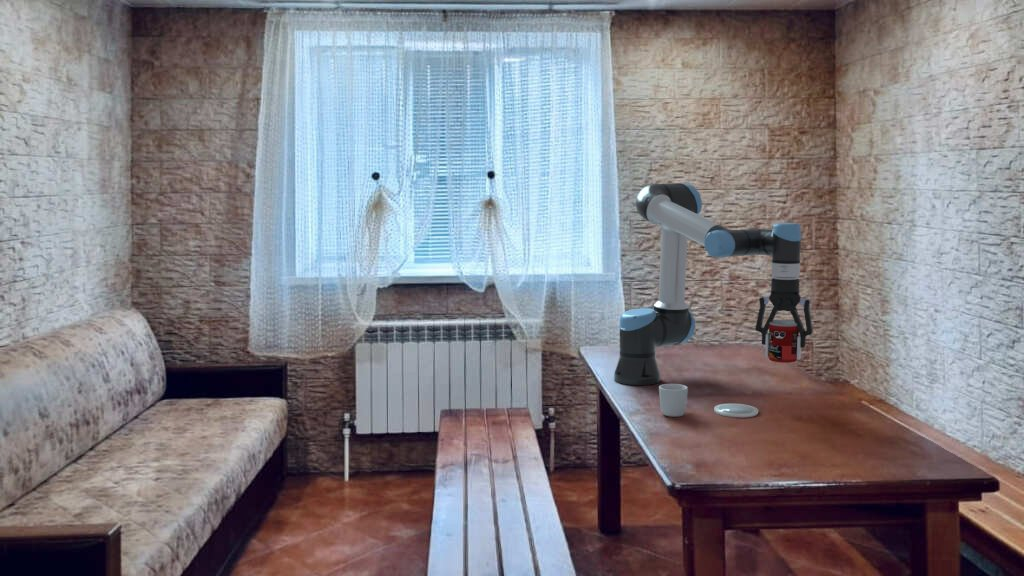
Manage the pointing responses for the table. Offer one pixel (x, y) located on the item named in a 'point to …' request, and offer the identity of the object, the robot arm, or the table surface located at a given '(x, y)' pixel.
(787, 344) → the canned food
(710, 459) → the table surface
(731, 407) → the plate
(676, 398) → the cup
